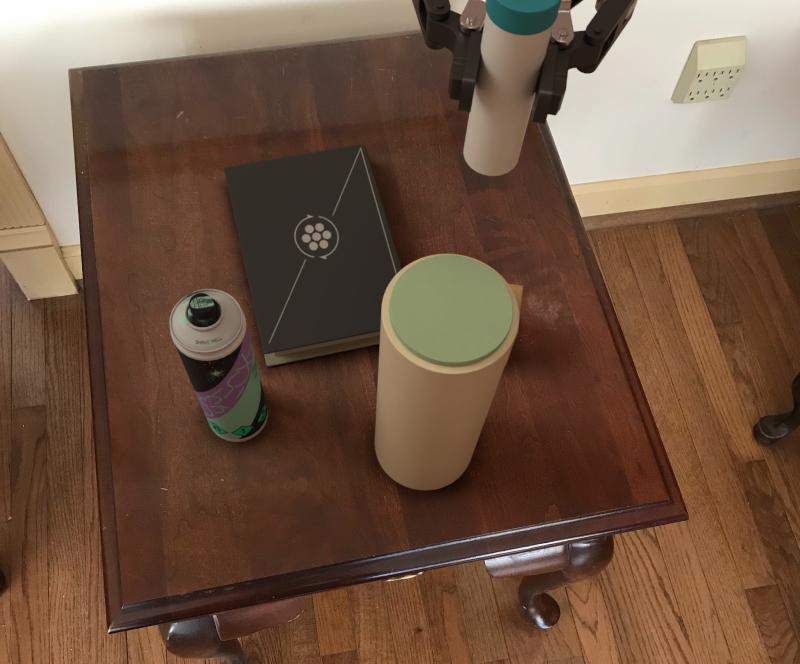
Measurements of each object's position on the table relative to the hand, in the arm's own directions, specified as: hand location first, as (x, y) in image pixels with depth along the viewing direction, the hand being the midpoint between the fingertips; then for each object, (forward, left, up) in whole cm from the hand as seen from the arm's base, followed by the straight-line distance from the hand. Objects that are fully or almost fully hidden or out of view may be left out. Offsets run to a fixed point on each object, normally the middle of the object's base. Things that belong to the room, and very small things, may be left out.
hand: (504, 104), depth 43 cm
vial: (-2, -2, -1) cm, 3 cm away
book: (-3, -19, -38) cm, 43 cm away
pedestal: (+4, +2, -38) cm, 38 cm away
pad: (+4, +2, -14) cm, 15 cm away
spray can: (+14, -12, -38) cm, 42 cm away
